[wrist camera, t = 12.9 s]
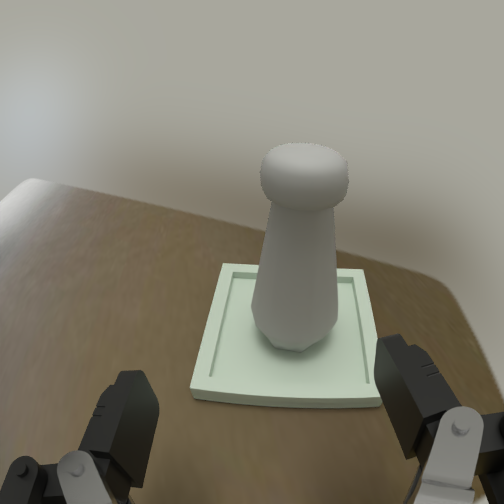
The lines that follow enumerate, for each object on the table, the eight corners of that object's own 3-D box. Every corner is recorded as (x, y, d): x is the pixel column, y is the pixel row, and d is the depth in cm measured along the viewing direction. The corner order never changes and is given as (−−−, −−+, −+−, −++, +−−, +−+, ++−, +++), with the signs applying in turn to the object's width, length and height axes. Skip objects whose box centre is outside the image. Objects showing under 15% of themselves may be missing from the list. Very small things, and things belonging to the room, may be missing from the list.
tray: (194, 398, 19) (189, 387, 18) (224, 276, 28) (223, 263, 27) (379, 406, 17) (386, 396, 16) (359, 282, 27) (362, 269, 26)
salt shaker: (284, 290, 25) (290, 127, 17) (346, 322, 22) (383, 150, 14) (235, 334, 22) (218, 153, 14) (302, 378, 19) (331, 186, 11)
